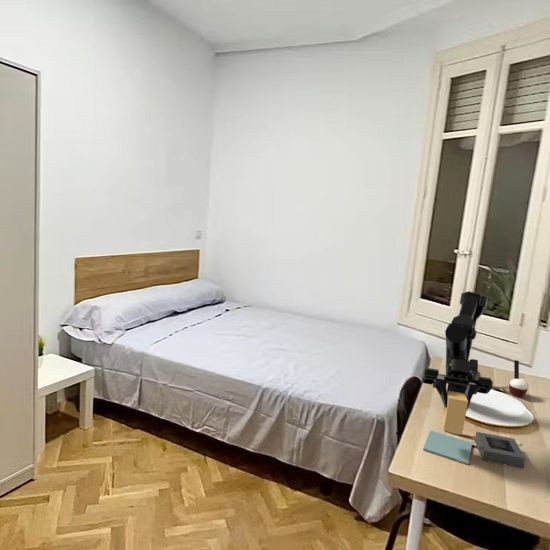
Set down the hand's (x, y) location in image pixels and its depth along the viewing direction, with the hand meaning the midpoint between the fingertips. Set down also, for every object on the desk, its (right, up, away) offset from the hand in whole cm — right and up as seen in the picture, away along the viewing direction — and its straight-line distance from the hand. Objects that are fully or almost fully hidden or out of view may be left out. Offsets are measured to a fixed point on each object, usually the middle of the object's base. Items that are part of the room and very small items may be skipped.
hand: (455, 409), depth 127 cm
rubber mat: (-1, -12, +4) cm, 13 cm away
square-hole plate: (+13, -14, +3) cm, 19 cm away
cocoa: (+42, -8, +46) cm, 63 cm away
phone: (+30, -5, +61) cm, 68 cm away
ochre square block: (0, -6, +3) cm, 7 cm away
